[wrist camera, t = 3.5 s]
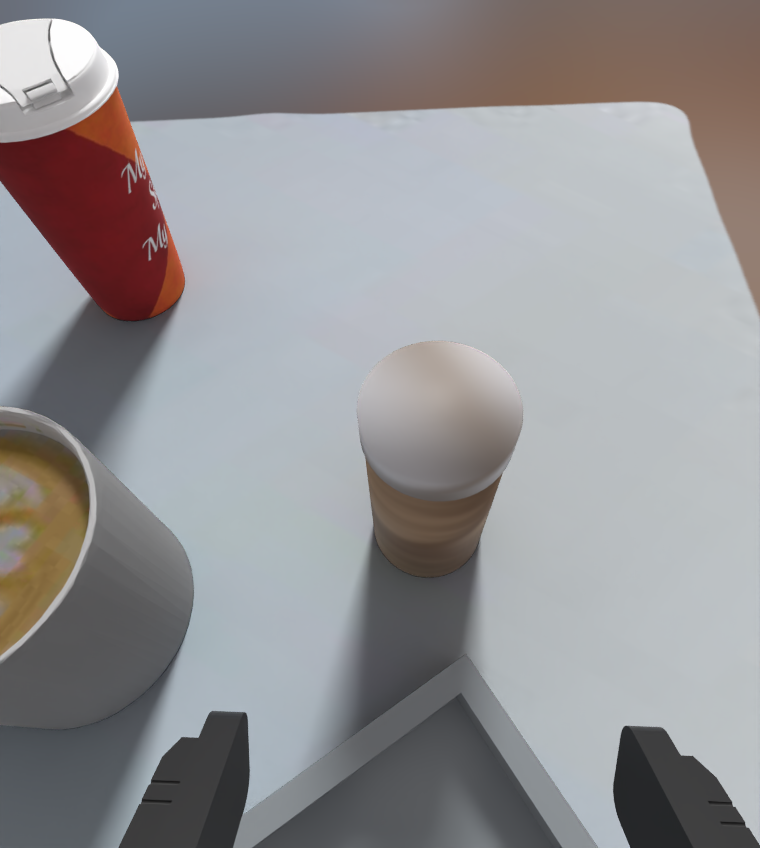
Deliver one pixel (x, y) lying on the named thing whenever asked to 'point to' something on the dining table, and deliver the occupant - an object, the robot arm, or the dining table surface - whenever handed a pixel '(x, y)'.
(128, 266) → the paper cup
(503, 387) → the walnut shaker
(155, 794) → the robot arm
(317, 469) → the dining table surface
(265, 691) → the dining table surface
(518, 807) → the stoneware tray
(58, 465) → the coffee mug
